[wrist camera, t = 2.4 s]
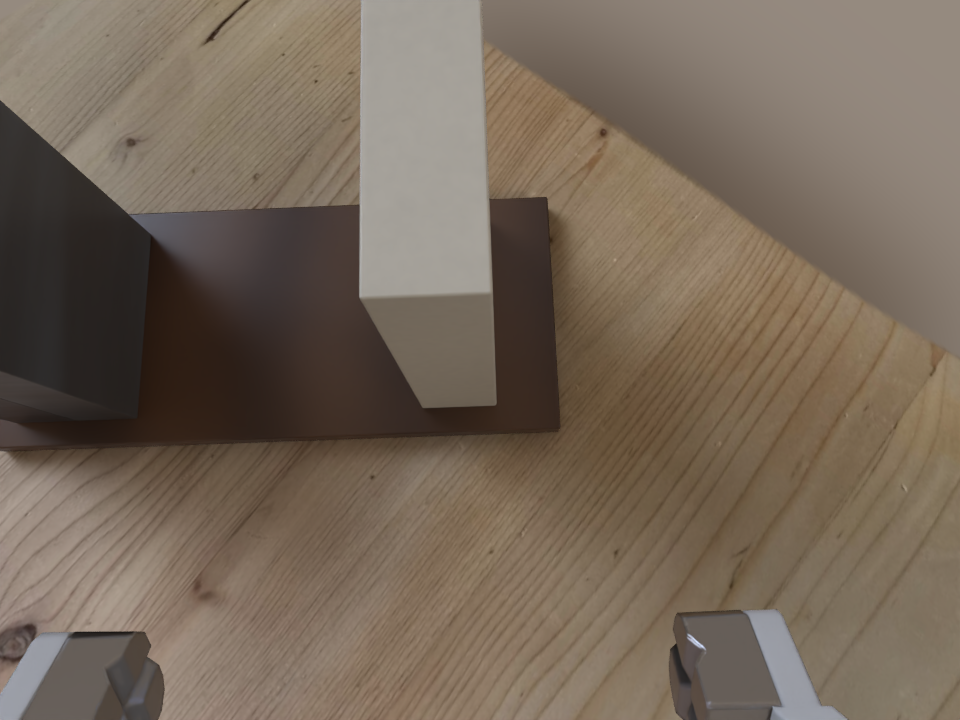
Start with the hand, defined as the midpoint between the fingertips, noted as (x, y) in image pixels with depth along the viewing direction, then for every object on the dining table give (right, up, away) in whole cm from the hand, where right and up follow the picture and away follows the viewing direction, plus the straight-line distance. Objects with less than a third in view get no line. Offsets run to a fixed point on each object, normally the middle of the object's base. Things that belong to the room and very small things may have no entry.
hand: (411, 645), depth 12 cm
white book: (0, +6, +20) cm, 21 cm away
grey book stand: (-7, +6, +21) cm, 23 cm away
